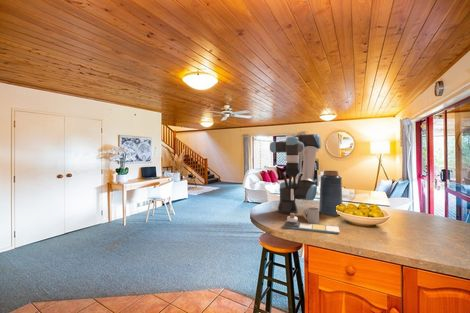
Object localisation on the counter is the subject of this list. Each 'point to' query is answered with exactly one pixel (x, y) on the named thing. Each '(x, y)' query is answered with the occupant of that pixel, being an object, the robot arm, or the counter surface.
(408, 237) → the counter surface
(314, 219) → the cup
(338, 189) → the vase
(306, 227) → the game board
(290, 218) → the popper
